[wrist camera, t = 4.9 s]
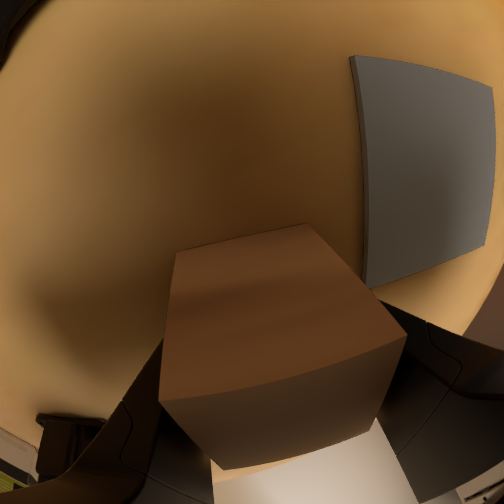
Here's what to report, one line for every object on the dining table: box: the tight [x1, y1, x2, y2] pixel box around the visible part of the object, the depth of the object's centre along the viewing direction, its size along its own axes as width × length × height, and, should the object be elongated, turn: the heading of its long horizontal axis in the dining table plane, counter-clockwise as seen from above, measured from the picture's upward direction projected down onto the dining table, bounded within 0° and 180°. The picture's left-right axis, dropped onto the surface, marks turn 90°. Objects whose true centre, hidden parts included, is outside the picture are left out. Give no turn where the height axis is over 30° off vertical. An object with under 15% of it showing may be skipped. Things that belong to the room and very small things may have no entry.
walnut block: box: [159, 223, 407, 470], centre depth 7 cm, size 4×4×5 cm
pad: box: [350, 55, 496, 289], centre depth 8 cm, size 8×8×1 cm
